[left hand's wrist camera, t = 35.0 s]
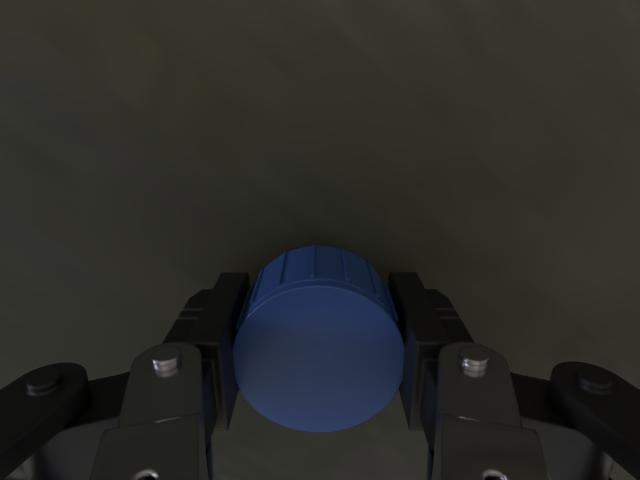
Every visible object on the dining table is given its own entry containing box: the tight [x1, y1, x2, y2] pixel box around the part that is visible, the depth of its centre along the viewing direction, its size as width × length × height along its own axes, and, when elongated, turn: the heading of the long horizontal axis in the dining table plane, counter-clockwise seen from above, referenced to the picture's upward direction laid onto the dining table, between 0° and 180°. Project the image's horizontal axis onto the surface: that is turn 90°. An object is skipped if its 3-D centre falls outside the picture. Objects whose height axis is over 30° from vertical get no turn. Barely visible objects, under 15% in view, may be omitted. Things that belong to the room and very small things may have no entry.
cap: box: [233, 245, 405, 432], centre depth 11 cm, size 4×4×2 cm
